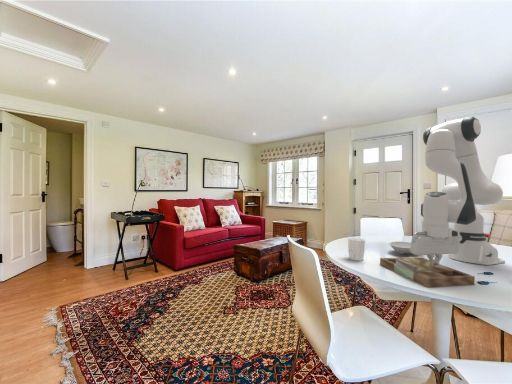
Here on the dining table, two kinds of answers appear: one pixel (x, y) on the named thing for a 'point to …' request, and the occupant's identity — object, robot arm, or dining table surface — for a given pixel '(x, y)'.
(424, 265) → the maple block
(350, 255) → the white cup
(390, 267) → the brown wooden compartment tray
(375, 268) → the dining table surface
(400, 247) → the dish
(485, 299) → the dining table surface
